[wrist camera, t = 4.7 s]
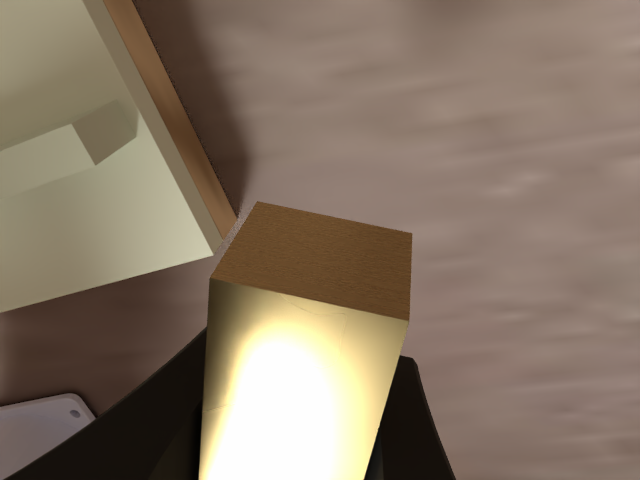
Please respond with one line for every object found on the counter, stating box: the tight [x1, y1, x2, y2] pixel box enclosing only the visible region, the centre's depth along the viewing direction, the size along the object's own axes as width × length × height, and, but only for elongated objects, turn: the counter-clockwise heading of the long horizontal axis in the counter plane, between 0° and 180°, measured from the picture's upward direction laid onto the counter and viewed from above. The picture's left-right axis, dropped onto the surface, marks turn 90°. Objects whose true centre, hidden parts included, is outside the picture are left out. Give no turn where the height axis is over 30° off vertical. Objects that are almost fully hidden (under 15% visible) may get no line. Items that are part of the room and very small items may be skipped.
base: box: [103, 0, 237, 240], centre depth 19 cm, size 14×11×2 cm
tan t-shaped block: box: [199, 201, 412, 480], centre depth 11 cm, size 2×7×7 cm, turn 172°
